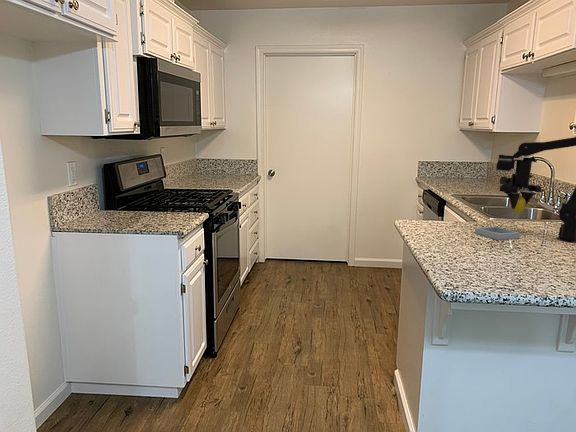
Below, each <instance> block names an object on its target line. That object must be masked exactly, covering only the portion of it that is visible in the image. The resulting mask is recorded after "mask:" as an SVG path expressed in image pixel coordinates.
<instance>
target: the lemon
mask: <svg viewBox="0 0 576 432" xmlns="http://www.w3.org/2000/svg"><path fill="white" fill-rule="evenodd" d="M525 205H526V202H525V199H524V198H523V197H522V195H520V196H519V198H518V201H517V204H516V206H515V208H514V209H512V208H511V209H512V211H513V212H515V214H517V215H518V214H519V213H521V212H523V211H524V209H526V206H527V205H526V206H525Z"/></svg>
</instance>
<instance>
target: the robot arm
mask: <svg viewBox="0 0 576 432" xmlns="http://www.w3.org/2000/svg"><path fill="white" fill-rule="evenodd" d="M572 147H576V136H573V137H567V138H566V137H565V138H560V139H555V140H553V139H552V140H548V141H525V142H522V143H520V144H519V146H518V147H517V151H516V152H515V153H513V155H509V154H508V155H506V154H499V155H498V157H497V158H498V159H497V162H496V171H502V172H511V171H512V170H514V169H515V172H514V173H512V174H511V176H510V177H507V176H501V177H500V180H499V184H500V186H499V189H498V191H499V192H503V193H504V194H506V195H507V196H508V199H509V203H510V208H511V209H514V208H515V206H516V204H517V201H518V198H519V196H522V197H523V198H524V199H525V202H526V205H525V207H526V206H527V205H528V203H529V202H530V201H531V200H532V198H533V197H534V196H535V195H536V194H537V193H542V186H541V185H538V184H531V183H530V179H531V178H533V174H531V172H532V165H533V163H537V162H538V160H537V158H536V157H535V156H534V155H535V154H538V153H541V152H546V151H551V150H558V149H564V148H572ZM532 155H533V156H532ZM528 156H532V157H528ZM521 157H523V158H522V159H519V158H521ZM557 212H558V218H559V221H561V222H562V224H561V225H560V227H559V231H558V237H556V239H557V240H561V241H564V242H568V243H576V185H575V186H574V188H573V189H572V192H571V193H570V195H569V198H568V199H567V200H566V201H564V200H562V201H561V205H560V207H559V208H558V209H557Z"/></svg>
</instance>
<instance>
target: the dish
mask: <svg viewBox="0 0 576 432" xmlns="http://www.w3.org/2000/svg"><path fill="white" fill-rule="evenodd" d="M474 234H475V235H477V236H481V237H485V238H488V239H491V240H494V241H508V240H509V241H510V240H519V239H520V236H521V235H520V234H521V232H518V231H516V230H515V231H514V230H511V229H508V228H507V229H506V228H503V227H499V226H486V227H475V230H474Z"/></svg>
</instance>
